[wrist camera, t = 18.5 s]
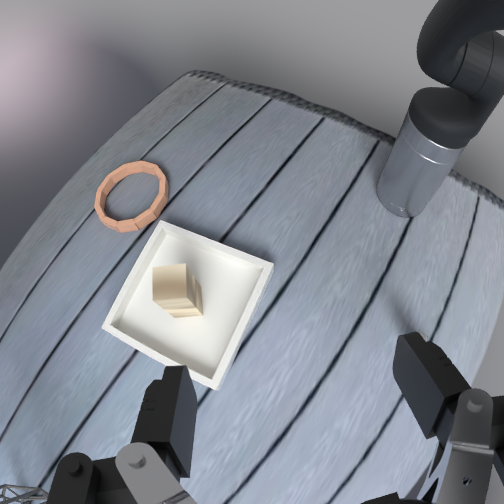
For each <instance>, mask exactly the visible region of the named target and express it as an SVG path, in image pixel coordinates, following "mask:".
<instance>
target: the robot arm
mask: <svg viewBox="0 0 504 504" xmlns="http://www.w3.org/2000/svg"><path fill="white" fill-rule="evenodd" d="M496 30H504V0H439V1H438V2H437V4H436V5H435V6H434V8H433V9H432V11H431V12H430V14H429V16H428V17H427V19H426V21H425V23H424V25H423V27H422V30H421V32H420V35H419V39H418V43H417V59H418V63H419V65H420V67H421V69H422V70H423V72H424V73H425V74H426V75H428V76H429V77H431V78H432V79H434V80H436V81H438V82H440V83H442V84H444V85H447V86H449V87H448V88H438V87H429V88H428V87H427V88H423V89H420V90H419V91H417V92H416V93H415V94H414V96H413V98H412V100H411V103H410V106H409V108H408V111H407V114H406V116H405V119H404V121H403V124H402V127H401V129H400V131H399V134H398V136H397V139H396V141H395V144H394V146H393V148H392V151H391V153H390V155H389V158H388V160H387V162H386V165H385V167H384V169H383V171H382V173H381V176H380V178H379V180H378V183H377V194H378V197H379V199H380V201H381V202H382V204H383V205H384V206H385V207H386V208H387V209H388V210H389V211H391V212H392V213H394V214H396V215H398V216H402V217H414V216H416V215H418V214H420V213H421V212H422V210H423V209H424V208H425V206H426V205H427V203H428V202H429V201H430V199H431V198H432V197H433V195H434V194H435V192H436V191H437V190H438V188H439V187H440V185H441V184H442V182H443V181H444V179H445V178H446V176H447V175H448V173H449V172H450V170H451V169H452V167H453V166H454V164H455V163H456V161H457V160H458V158H459V156H460V155H461V153H462V152H463V150H464V149H465V147H466V146H467V144H468V142H469V141H470V139H472V138H473V137H475V136H476V135H477V134H478V132H479V131H480V129H481V128H482V126H483V125H484V123H485V122H486V120H487V119H488V117H489V116H490V114H491V113H492V111H493V110H494V108H495V107H496V106H497V104H498V103H499V101H500V99H501V98H502V96H503V95H504V36H502V35H501V34H499V33H498V32H496ZM393 375H394V378H395V381H396V382H397V384H398V386H399V388H400V390H401V392H402V393H403V395H404V397H405V399H406V401H407V403H408V405H409V407H410V408H411V410H412V412H413V414H414V416H415V418H416V420H417V422H418V424H419V426H420V428H421V430H422V432H423V434H424V436H425V438H426V439H429V438H432V437H434V436H437V438H438V440H439V441H438V443H437V445H436V449H435V452H434V456H433V459H432V462H431V465H430V468H429V472H428V474H427V477H426V480H425V483H424V485H423V487H422V489H421V491H420V493H419V495H418V497H417V499H410V498H402V499H399V496H398V494H397V492H395V493H392V494H389V495H385V496H382V497H379V498H375V499H372V500H368V501H365V502H363V503H361V504H484V503H485V500H486V495H487V491H488V486H489V481H490V476H491V470H492V464H494V466H495V468H496V471H497V473H498V475H499V477H500V479H501V481H502V483H503V485H504V396H497V397H491V396H490V395H489V394H488V393H487V392H485V391H483V390H481V389H476V388H475V389H472V388H471V387H470V386H469V384H468V383H467V381H466V380H465V379H464V377H463V376H462V375H461V373H460V372H459V371H458V369H457V368H456V367H455V366H454V364H452V362H451V360H450V359H449V358H447V355H446V354H445V353H444V351H443V350H442V349H441V348H440V347H439V346H437V345H436V344H434V343H433V342H431V341H428V342H426V341H425V340H424V338H423V337H422V336H421V335H420V333H419V332H412V333H408V334H404V335H400V336H399V337H398V339H397V345H396V350H395V356H394V361H393ZM140 409H141V411H140V412H139V415H138V418H137V422H136V426H135V429H134V433H133V436H132V440H131V443H130V444H128V445H126V446H124V447H123V448H122V449H121V450H120V451H119V452H118V453H117V456H115V457H111V458H106V459H100V460H94V461H92V460H91V459H90V458H89V457H88V456H87V455H85V454H83V453H78V452H76V453H70V454H68V455H66V456H65V457H63V458H62V459H61V460H60V462H59V464H58V466H57V469H56V473H55V476H54V479H53V482H52V485H51V489H50V492H49V495H48V499H47V502H46V504H197V503H196V502H195V501H194V499H193V498H192V497H191V496H190V495H189V494H188V493H187V492H186V491H185V490H184V489H183V487H182V486H181V485H180V477H181V478H190V469H191V459H192V450H193V441H194V432H195V423H196V414H197V397H196V392H195V389H194V386H193V383H192V380H191V377H190V374H189V370H188V368H187V366H186V365H177V366H166V367H165V370H164V374H163V377H162V380H153V382H152V383H151V384H150V385H149V386H148V388H147V389H146V391H145V395H144V398H143V402H142V405H141V408H140Z"/></svg>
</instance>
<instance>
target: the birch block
mask: <svg viewBox="0 0 504 504" xmlns="http://www.w3.org/2000/svg"><path fill="white" fill-rule="evenodd" d="M152 293H153V301H154V302H155V303H156V304H157V305H159V306H160V307H161V308H163V309H164V310H165V311H166V312H168V313H169V314H170V315H172V316H173V317H174V318H180V317H192V316H202V315H203V307H202V291H201V286H200V285H199V283H198V282H197V280H196V279H195V277H194V275H193V274H192V272H191V271H190V269H189V268H188V266H187V265H186V263H184V264H176V265H167V266H159V267H153V274H152Z"/></svg>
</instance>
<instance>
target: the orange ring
mask: <svg viewBox="0 0 504 504" xmlns="http://www.w3.org/2000/svg"><path fill="white" fill-rule="evenodd" d="M139 172H146V173H149V174H152V175H155V176H156V177H157V178H158V179H159V181H160V185H159V194H158V196H157V197H156V199H155V200H154V202H153V204H152V205H151V207H150V208H149V209H148V210H146V211H145V212H143V213H142V214H140V215H139V216H137V217H136V218H134V219H129V220H123V221H116V220H113V219H111V218H109V217H107V215H106V213H105V211H104V208H105V201H106V196H107V195H108V193H109V192H110V190H111V189H112V187H113V186H114V184H115V183H117V182H118V181H120V180H121V179H123V178H124V177H126V176H127V175H129V174H134V173H139ZM168 190H169V184H168V181H167V179H166V177H165V175H164V174H163V173H162V171H161V170H160V168H159V167H158V166H157V165H156V164H152V163H149V162H145V161H136V162H132V163H127V164H123V165H122V166H120V167H119V168H117V169H116V170H114V171H113V172H111V173H110V174H108V175H107V177H106V178H105V180H104V181H103V182H102V184H101V185H100V187H99V188H98V190H97V193H96V199H95V205H94V206H95V209H96V212H97V214H98V216H99V218H100V220H101V221H102V222H103V223H104V225H105V226H107V227H109V228H111V229H113V230H115V231H118V232H121V233H122V232H129V231H135V230H139V229H142V228H143V227H145V226H146V225H148V224H149V223H151V222H152V221H153V220H155V219H156V218H157V217H158V216H159V215H160V213H161V211H162V210H163V208H164V206H165V205H166V203H167V202H168Z"/></svg>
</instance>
